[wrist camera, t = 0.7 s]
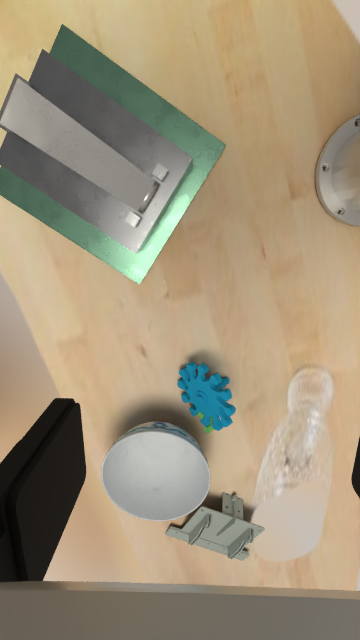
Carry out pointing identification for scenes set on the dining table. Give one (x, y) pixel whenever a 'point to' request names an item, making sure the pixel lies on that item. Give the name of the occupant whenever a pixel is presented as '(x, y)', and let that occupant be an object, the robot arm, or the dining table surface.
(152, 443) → the chinaware
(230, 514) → the metal bracket
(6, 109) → the steel strap
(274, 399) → the dining table surface
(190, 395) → the gear
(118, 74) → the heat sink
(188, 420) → the dining table surface
